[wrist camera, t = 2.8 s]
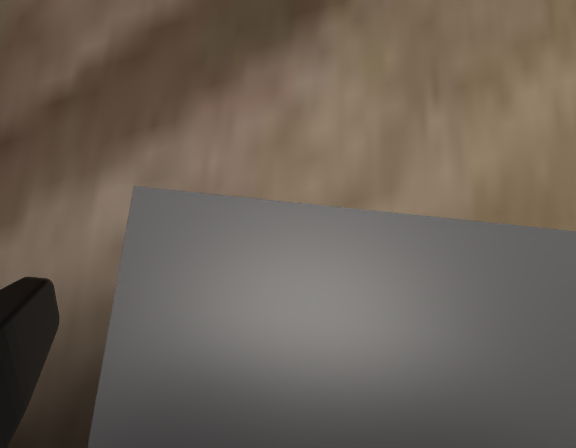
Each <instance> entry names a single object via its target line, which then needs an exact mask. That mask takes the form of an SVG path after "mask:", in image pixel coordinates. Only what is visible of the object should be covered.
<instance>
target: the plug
mask: <svg viewBox="0 0 576 448" xmlns="http://www.w3.org/2000/svg"><path fill="white" fill-rule="evenodd" d="M87 448H576V231H567V230H557V229H547V228H538V227H528V226H518V225H508V224H499V223H489V222H479V221H469V220H460V219H450V218H440V217H430V216H420V215H411V214H401V213H391V212H381V211H372V210H362V209H352V208H342V207H333V206H323V205H313V204H303V203H294V202H284V201H274V200H264V199H254V198H245V197H235V196H225V195H215V194H206V193H196V192H186V191H176V190H167V189H157V188H147V187H137V186H134V187H133V193H132V199H131V204H130V210H129V216H128V221H127V227H126V233H125V238H124V244H123V250H122V255H121V261H120V266H119V272H118V278H117V283H116V289H115V295H114V300H113V306H112V312H111V317H110V323H109V329H108V334H107V340H106V346H105V351H104V357H103V363H102V368H101V374H100V380H99V385H98V391H97V396H96V402H95V408H94V413H93V419H92V425H91V430H90V436H89V442H88V447H87Z"/></svg>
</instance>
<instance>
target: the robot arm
mask: <svg viewBox="0 0 576 448" xmlns="http://www.w3.org/2000/svg"><path fill="white" fill-rule="evenodd" d="M58 325H59V312H58V306H57V301H56V296H55V290H54V286H53V283H52V281H50V280H49V279H46V278H37V277H24V278H22V279H20V280H18V281H16V282H14V283H12V284H10V285H8V286H7V287H5V288H3V289H1V290H0V448H7V446H8V444H9V442H10V440H11V438H12V436H13V434H14V432H15V431H16V429H17V427H18V425H19V423H20V421H21V419H22V417H23V415H24V413H25V411H26V408H27V406H28V404H29V401H30V399H31V396H32V394H33V391H34V389H35V386H36V384H37V381H38V378H39V376H40V373H41V371H42V368H43V366H44V363H45V360H46V358H47V355H48V353H49V350H50V348H51V345H52V342H53V340H54V337H55V335H56V332H57V329H58Z"/></svg>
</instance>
